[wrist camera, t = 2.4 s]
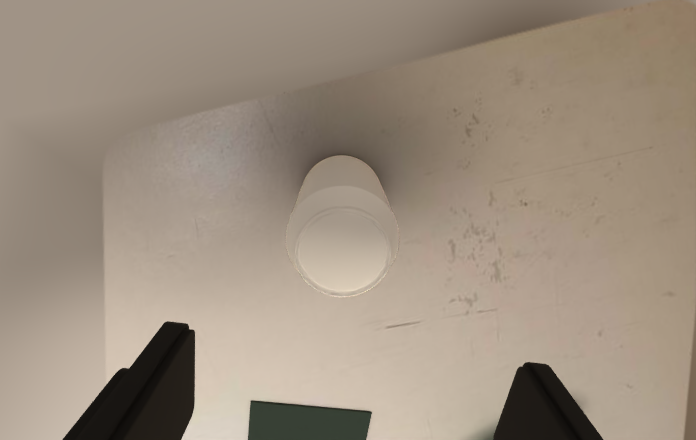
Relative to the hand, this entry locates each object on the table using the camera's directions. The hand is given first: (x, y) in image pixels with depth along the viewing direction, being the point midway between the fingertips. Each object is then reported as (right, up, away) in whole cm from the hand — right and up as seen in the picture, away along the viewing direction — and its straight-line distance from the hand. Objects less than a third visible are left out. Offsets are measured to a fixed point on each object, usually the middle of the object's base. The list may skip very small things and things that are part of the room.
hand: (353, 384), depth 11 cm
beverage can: (-1, +7, +19) cm, 21 cm away
